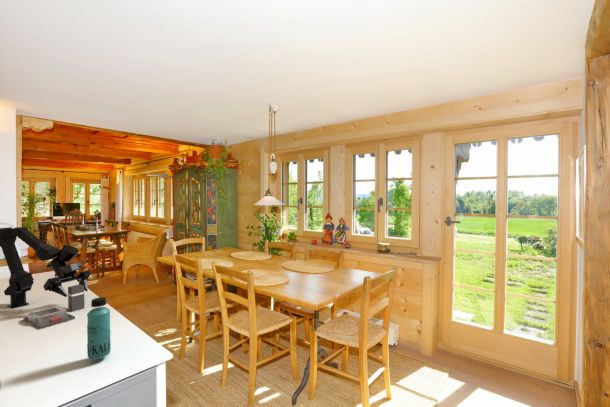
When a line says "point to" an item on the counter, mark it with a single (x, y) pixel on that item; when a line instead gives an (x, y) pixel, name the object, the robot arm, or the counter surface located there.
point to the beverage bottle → (98, 330)
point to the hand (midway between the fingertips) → (77, 293)
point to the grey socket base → (48, 317)
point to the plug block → (76, 297)
